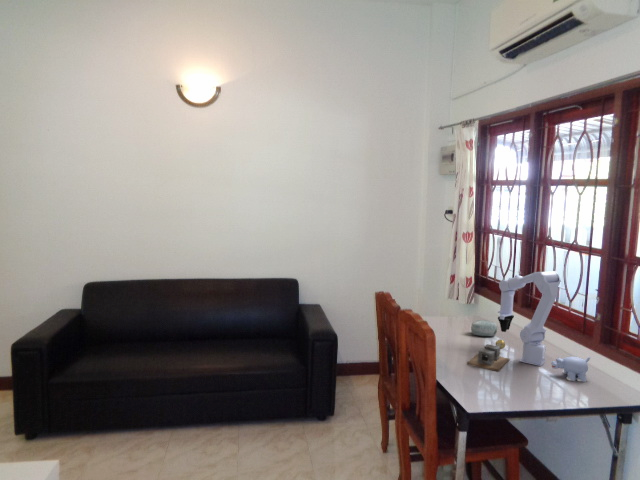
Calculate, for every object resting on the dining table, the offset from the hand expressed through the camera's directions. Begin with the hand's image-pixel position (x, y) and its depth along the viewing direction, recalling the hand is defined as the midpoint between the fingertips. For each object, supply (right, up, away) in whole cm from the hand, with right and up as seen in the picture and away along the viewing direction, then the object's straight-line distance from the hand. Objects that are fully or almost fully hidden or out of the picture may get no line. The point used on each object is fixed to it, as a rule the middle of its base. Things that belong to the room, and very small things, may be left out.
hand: (505, 330), depth 247 cm
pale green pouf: (-3, -7, +22) cm, 23 cm away
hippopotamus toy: (+16, -14, -32) cm, 39 cm away
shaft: (-10, -9, -13) cm, 19 cm away
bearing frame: (-14, -12, -18) cm, 26 cm away
